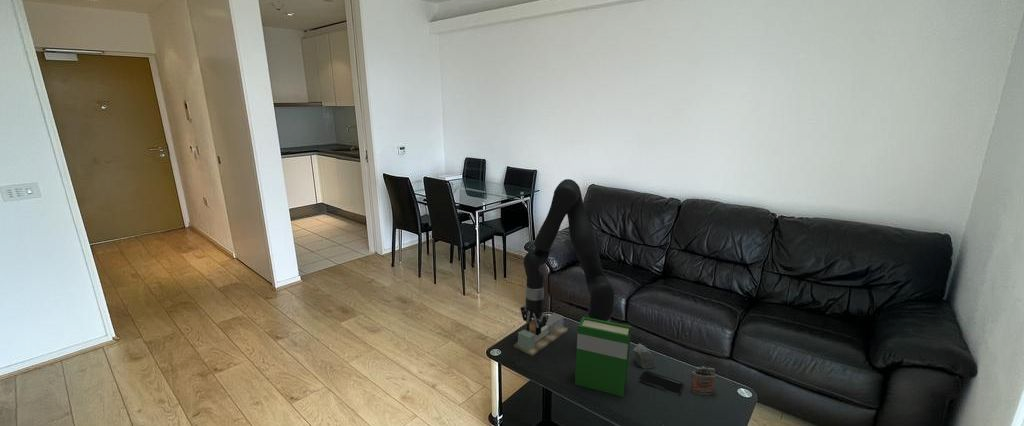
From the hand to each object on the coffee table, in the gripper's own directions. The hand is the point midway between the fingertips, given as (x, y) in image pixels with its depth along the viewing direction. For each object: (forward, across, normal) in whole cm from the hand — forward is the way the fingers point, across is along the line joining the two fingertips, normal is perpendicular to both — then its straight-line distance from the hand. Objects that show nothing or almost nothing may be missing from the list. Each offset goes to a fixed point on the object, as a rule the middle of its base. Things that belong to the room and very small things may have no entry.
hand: (533, 332), depth 182 cm
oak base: (+6, 0, +6) cm, 8 cm away
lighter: (+6, +65, +16) cm, 67 cm away
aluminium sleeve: (+5, 0, +14) cm, 15 cm away
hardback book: (+6, +35, -5) cm, 36 cm away
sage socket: (+5, 0, -5) cm, 7 cm away
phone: (+6, +52, +11) cm, 54 cm away
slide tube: (+4, 0, +3) cm, 5 cm away
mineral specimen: (+6, +42, +17) cm, 46 cm away
